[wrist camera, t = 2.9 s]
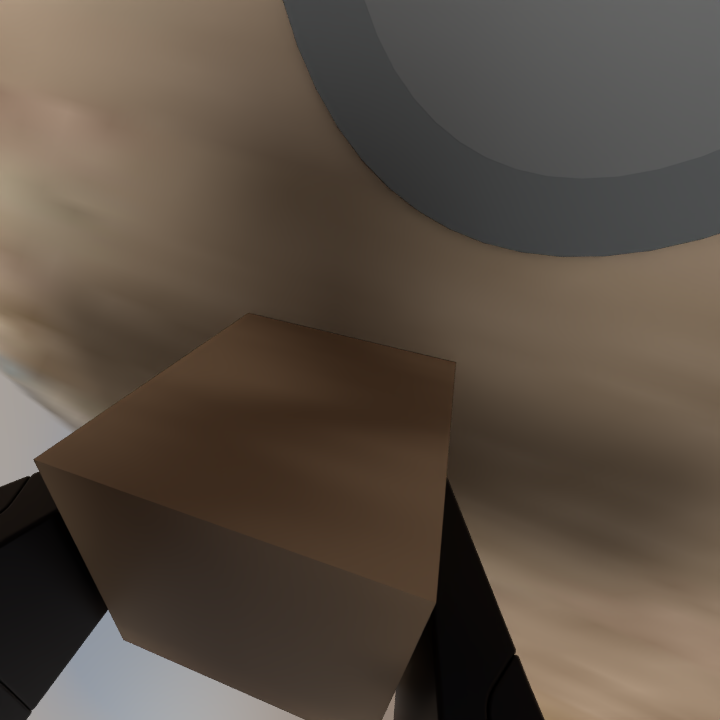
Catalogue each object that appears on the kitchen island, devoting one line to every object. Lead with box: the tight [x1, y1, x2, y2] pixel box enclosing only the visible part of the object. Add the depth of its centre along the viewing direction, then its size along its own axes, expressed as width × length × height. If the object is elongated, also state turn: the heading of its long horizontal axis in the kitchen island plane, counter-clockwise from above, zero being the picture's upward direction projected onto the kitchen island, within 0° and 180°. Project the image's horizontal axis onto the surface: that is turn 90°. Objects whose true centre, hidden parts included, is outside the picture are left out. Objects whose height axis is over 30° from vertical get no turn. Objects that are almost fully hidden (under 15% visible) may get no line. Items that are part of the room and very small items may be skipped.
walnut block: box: [34, 313, 456, 720], centre depth 7 cm, size 5×5×5 cm
